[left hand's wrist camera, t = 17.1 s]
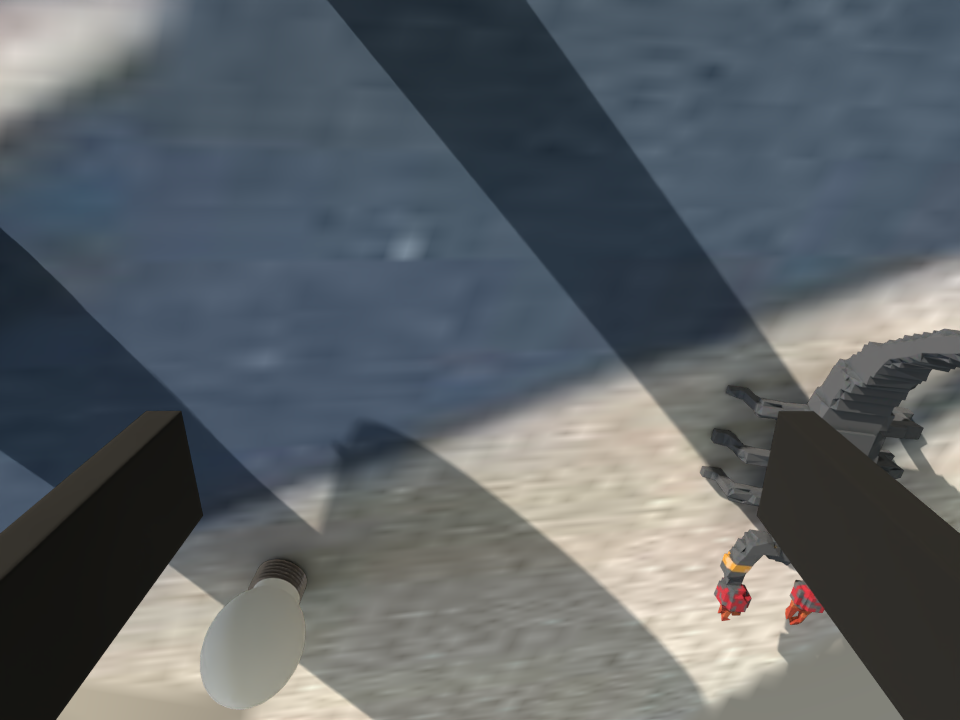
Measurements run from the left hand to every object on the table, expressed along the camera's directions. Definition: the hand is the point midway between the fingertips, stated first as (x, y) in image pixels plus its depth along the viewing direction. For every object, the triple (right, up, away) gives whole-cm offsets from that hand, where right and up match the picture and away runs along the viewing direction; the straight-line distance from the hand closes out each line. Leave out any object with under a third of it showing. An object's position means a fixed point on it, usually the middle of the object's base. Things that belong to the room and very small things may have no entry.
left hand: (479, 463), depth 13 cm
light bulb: (-16, -15, +35) cm, 41 cm away
